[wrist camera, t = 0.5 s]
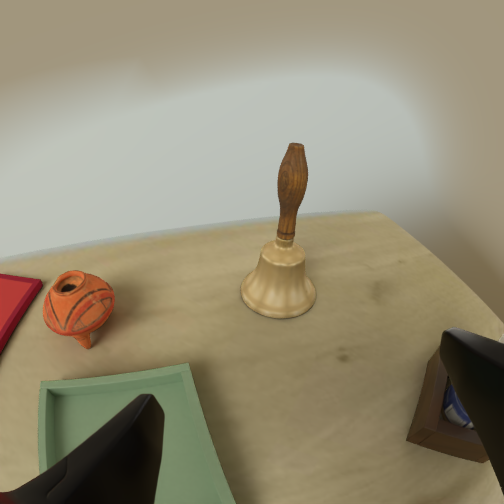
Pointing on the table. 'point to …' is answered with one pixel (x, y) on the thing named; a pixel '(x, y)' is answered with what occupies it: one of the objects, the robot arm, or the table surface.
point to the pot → (78, 305)
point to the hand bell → (283, 251)
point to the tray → (113, 401)
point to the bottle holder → (439, 431)
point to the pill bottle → (456, 407)
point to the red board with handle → (14, 302)
